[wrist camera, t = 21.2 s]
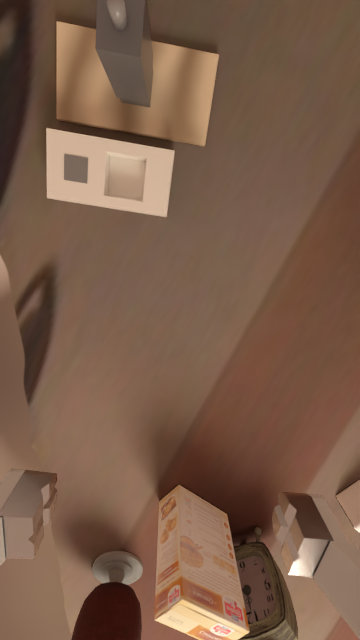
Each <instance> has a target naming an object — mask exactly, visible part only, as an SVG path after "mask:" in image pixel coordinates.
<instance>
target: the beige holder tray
mask: <svg viewBox="0 0 360 640" xmlns="http://www.w3.org/2000/svg"><path fill="white" fill-rule="evenodd" d="M46 142H47V198H50V199H55V200H61V201H67V202H73V203H80V204H86V205H92V206H99V207H105V208H111V209H118V210H124V211H130V212H137V213H143V214H149V215H156V216H162V217H167V212H168V204H169V196H170V188H171V180H172V171H173V163H174V150H168V149H162V148H157V147H151V146H145V145H140V144H134V143H128V142H123V141H117V140H111V139H106V138H100V137H94V136H89V135H83V134H77V133H72V132H66V131H60V130H55V129H49V128H46Z"/></svg>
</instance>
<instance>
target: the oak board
mask: <svg viewBox="0 0 360 640" xmlns="http://www.w3.org/2000/svg"><path fill="white" fill-rule="evenodd" d="M95 44H96V29H92V28H87V27H82V26H78V25H73V24H68V23H63V22H58V21H57V119H58V120H59V121H64V122H70V123H75V124H81V125H87V126H92V127H98V128H103V129H109V130H115V131H120V132H126V133H131V134H137V135H143V136H148V137H154V138H159V139H165V140H170V141H176V142H182V143H187V144H193V145H198V146H205V142H206V135H207V129H208V122H209V116H210V109H211V103H212V96H213V90H214V83H215V77H216V70H217V64H218V57H219V54H214V53H209V52H204V51H199V50H194V49H189V48H185V47H180V46H175V45H170V44H165V43H160V42H155V41H152V50H153V82H152V93H151V103H150V107H144V106H139V105H133V104H128V103H123V102H121V101H120V98H117V97H116V95H115V93H114V90H113V88H112V86H111V83H110V81H109V79H108V77H107V74H106V72H105V70H104V67H103V65H102V63H101V61H100V58H99V56H98V54H97V51H96V49H95Z"/></svg>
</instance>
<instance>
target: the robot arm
mask: <svg viewBox="0 0 360 640" xmlns="http://www.w3.org/2000/svg"><path fill="white" fill-rule="evenodd" d="M56 482H57V474H56V473H49V472H39V471H30V470H21V469H11V470H10V471H8V472H7V473H6V475H5V476H4V478H3V479H2V481H1V482H0V565H1V564H2V563H3V562H4V561H5V559H6V558H18V559H19V558H20V559H34V558H35V556H36V553H37V551H38V549H39V546H40V543H41V541H42V539H43V536H44V526H45V525H46V524H47V523H49V522H50V519H51V517H52V514H53V511H54V508H55V504H56V499H57V490H56V488H55V484H56ZM278 502H279V505H277V506H276V507H275V508H274V511H273V514H272V524H273V530H274V533H275V536H276V538H277V540H278V541H279V542H280V543H281V544H282V545H283V546H282V550H281V554H282V557H283V560H284V563H285V566H286V569H287V572H288V575H296V576H307V577H313V580H314V581H315V582H316V584H317V585H318V586H319V588H320V589H321V590H322V591H323V593H324V594H325V595H326V597H327V598H328V599H329V601H330V602H331V603H332V604H333V606H334V607H335V608H336V610H337V611H338V612H339V613H340V615H341V616H342V617H343V619H344V620H345V621H346V623H347V624H348V625H349V626H350V628H351V629H352V630H353V632H354V633H355V634H356V636H357V637H358V638H359V639H360V548H359V547H358V546H357V545H356V544H354V543H351V542H349V540H348V539H347V537H346V535H345V533H344V532H343V530H342V528H341V526H340V525H339V523H338V521H337V519H336V517H335V516H334V514H333V512H332V510H331V509H330V507H329V505H328V503H327V501H326V500H325V498H324V497H323V496H322V495H313V494H304V493H290V492H281V493H280V494H279V497H278Z"/></svg>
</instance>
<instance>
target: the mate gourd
mask: <svg viewBox="0 0 360 640" xmlns="http://www.w3.org/2000/svg"><path fill="white" fill-rule="evenodd" d="M142 571H143V565H142V562H141V560H140V559H139V558H138V557H136V556H135V555H133V554H131V553H128V552H124V551H110V552H106V553H104V554H102V555H100V556H99V557H97V558H96V560H95V561H94V563H93V567H92V572H93V575H94V576H95V578H96V579H97V580H99V581H100V582H102V583H103V584H100V585H99V586H97V587H96V588H95V589H94V590H93V591H92V592H91V593H90V594H89V596H88V597H87V598H86V599H85V601H84V603H83V605H82V608H81V610H80V613H79V615H78V618H77V621H76V624H75V628H74V632H73V636H72V640H141V630H142V625H141V609H140V603H139V601H138V599H137V596H136V594H135V592H134V590H133V589H132V588H131V587H129V586H128V584H131V583H133V582H135V581H137V580H138V579H139V578H140V577H141V575H142Z"/></svg>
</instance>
